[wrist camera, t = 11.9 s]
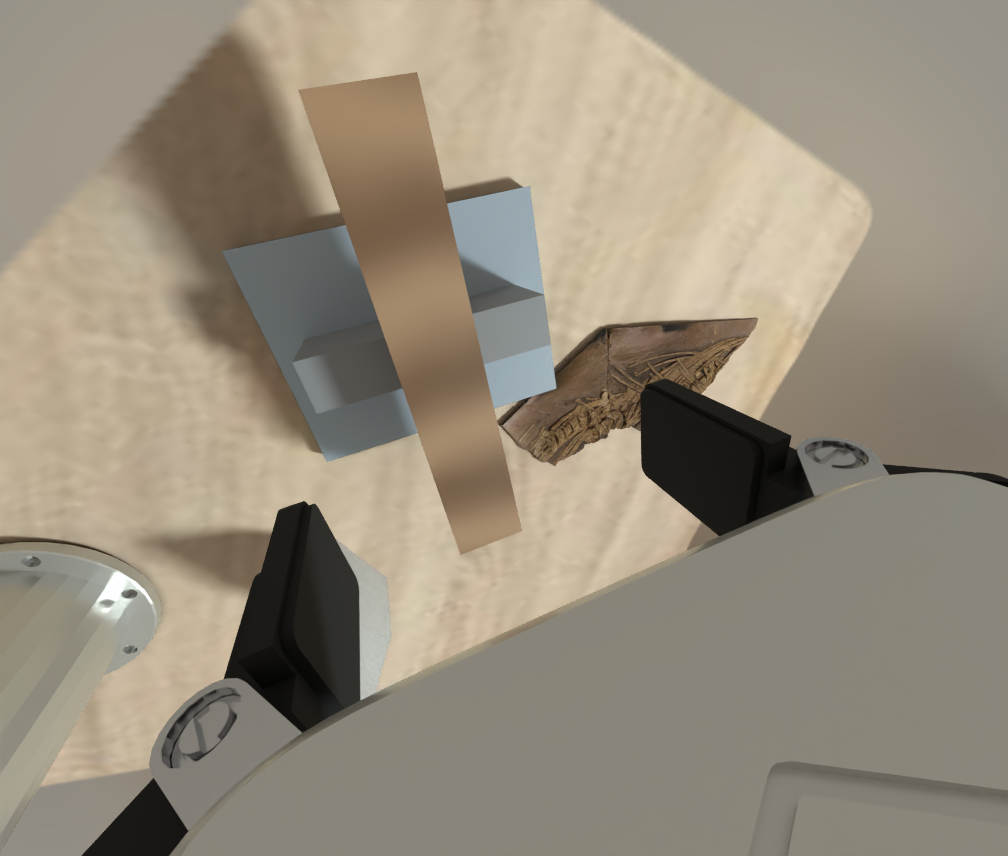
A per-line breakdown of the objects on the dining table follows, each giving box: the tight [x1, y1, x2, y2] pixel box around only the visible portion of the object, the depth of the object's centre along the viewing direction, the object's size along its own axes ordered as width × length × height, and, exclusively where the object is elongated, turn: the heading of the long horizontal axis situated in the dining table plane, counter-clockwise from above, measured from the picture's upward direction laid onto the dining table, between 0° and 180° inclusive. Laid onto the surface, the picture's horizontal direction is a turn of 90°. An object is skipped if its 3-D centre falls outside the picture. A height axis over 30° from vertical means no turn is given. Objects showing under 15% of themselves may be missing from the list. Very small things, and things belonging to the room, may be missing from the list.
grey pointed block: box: [336, 540, 391, 700], centre depth 30 cm, size 4×7×10 cm, turn 31°
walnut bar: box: [299, 72, 522, 555], centre depth 20 cm, size 22×4×4 cm, turn 11°
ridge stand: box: [222, 186, 556, 462], centre depth 25 cm, size 18×14×6 cm
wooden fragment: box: [500, 318, 758, 466], centre depth 35 cm, size 26×11×1 cm, turn 103°
